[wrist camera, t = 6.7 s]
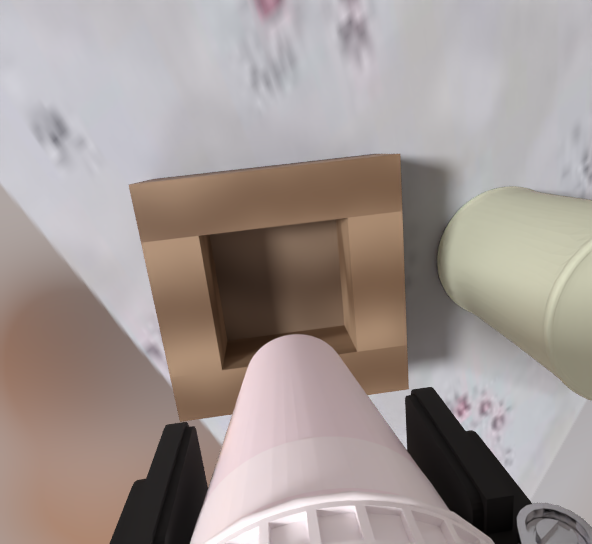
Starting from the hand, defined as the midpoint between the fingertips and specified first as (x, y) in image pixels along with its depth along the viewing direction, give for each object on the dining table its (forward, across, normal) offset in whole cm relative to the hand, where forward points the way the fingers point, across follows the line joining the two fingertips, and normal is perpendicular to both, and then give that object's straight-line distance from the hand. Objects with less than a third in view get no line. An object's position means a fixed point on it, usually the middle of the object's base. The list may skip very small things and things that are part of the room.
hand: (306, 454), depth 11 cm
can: (+18, -16, 0) cm, 23 cm away
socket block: (+17, 0, 0) cm, 17 cm away
